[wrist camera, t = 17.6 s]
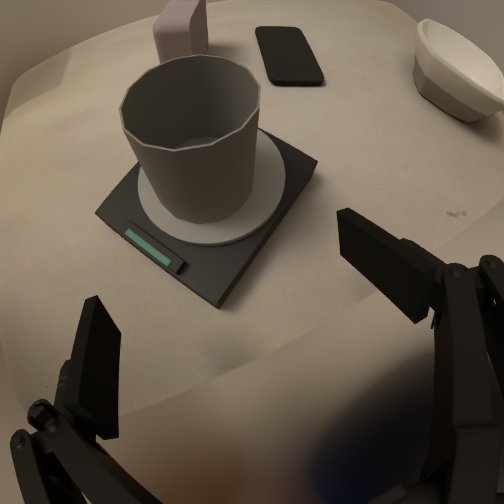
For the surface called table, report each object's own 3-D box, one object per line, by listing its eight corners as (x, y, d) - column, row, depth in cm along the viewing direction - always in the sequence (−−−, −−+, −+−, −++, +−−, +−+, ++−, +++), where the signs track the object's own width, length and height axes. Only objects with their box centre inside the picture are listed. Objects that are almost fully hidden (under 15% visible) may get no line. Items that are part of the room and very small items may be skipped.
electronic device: (178, 46, 36) (169, -7, 26) (208, 45, 36) (204, -10, 26) (161, 87, 33) (146, 26, 23) (196, 85, 33) (188, 22, 23)
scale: (218, 309, 25) (214, 304, 22) (106, 224, 27) (89, 208, 23) (311, 176, 29) (320, 155, 26) (203, 117, 31) (200, 92, 27)
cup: (141, 208, 24) (94, 137, 14) (177, 133, 26) (157, 51, 16) (237, 235, 23) (236, 165, 14) (264, 152, 26) (276, 66, 16)
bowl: (398, 45, 39) (415, 8, 30) (475, 89, 38) (497, 60, 29) (396, 97, 34) (422, 51, 25) (488, 152, 33) (522, 120, 24)
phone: (299, 27, 37) (327, 81, 33) (299, 30, 38) (325, 86, 33) (253, 26, 36) (270, 80, 32) (253, 30, 37) (269, 85, 33)
